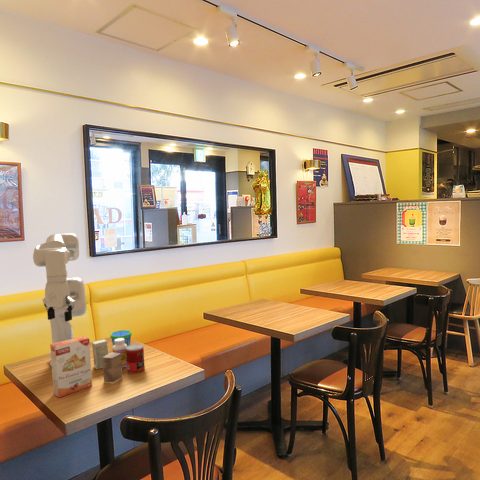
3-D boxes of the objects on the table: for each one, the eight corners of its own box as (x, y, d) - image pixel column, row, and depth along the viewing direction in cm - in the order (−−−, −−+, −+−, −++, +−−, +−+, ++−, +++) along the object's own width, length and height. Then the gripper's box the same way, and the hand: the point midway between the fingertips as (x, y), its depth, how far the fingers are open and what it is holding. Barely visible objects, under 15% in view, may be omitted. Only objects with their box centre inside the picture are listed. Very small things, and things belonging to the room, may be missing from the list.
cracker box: (58, 398, 157) (54, 346, 156) (53, 394, 162) (49, 343, 160) (93, 386, 167) (89, 337, 166) (86, 382, 172) (83, 335, 170)
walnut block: (104, 382, 171) (102, 357, 171) (113, 376, 177) (111, 352, 176) (113, 383, 169) (111, 358, 169) (122, 377, 175) (120, 353, 174)
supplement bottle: (116, 370, 184) (114, 342, 183) (111, 365, 189) (109, 339, 188) (130, 366, 188) (128, 339, 187) (125, 362, 193) (123, 336, 192)
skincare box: (107, 363, 193) (105, 338, 192) (109, 366, 189) (107, 340, 188) (93, 366, 189) (91, 341, 188) (95, 369, 186) (93, 343, 185)
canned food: (140, 373, 179) (138, 349, 178) (123, 373, 180) (122, 349, 179) (147, 367, 186) (146, 344, 185) (131, 366, 188) (130, 343, 187)
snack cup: (130, 356, 201) (129, 336, 200) (108, 358, 200) (107, 338, 199) (134, 346, 216) (133, 328, 216) (114, 348, 215) (113, 329, 214)
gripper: (34, 280, 166) (37, 320, 167) (65, 281, 159) (68, 323, 160) (49, 277, 173) (52, 316, 174) (79, 278, 166) (82, 318, 167)
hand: (59, 319), depth 167 cm, fingers open, 9 cm apart
